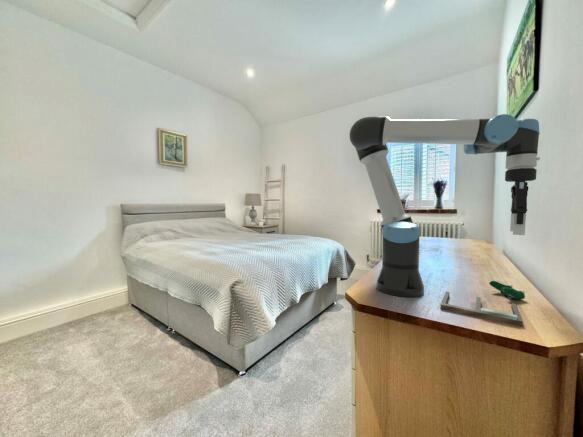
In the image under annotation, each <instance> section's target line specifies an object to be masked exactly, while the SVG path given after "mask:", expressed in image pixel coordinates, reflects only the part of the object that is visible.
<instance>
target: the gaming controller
mask: <svg viewBox="0 0 583 437" xmlns="http://www.w3.org/2000/svg"><path fill="white" fill-rule="evenodd" d="M488 284H489V286H491V287H493V288H494V289H496V290H497V291H499V292H500V293H501V296H507V298H508V299H513V298H514V299H515V300H516V299H517V300H519V301H520V300H523V299H525V298H526V294H525V291H524V290H517V289H516V288H514V287H513V285H508V284H507V285H506V284H504V283H501V282H499V281H496V280H491V281H489V283H488Z"/></svg>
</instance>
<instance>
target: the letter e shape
mask: <svg viewBox="0 0 583 437" xmlns="http://www.w3.org/2000/svg"><path fill="white" fill-rule="evenodd" d="M475 298H476V300H475V309H473V308H469V307H462V306H459V305H453V304H448V301H449V299H450V291H445V293H444V295H443V298H442V300H441V302H440V310H444V311H448V312H452V313H457V314H462V315H466V316H472V317H475V318H480V319H484V320H490V321H493V322H494V321H495V322H499V323H504V324H508V325H513V326H518V327H523V324H524V323H523V322H524V321H523V319H522V316H521V314H520V311H519V307H518V305H517V303H514V302H513V303H512V302H511V303H510V304H511V305H510V306H511V307H510V309H511V311H512V313H509V312H503V311H497V310H493V309H490V308H489V309H488V308H483V307H482V303H481V302H482V301H481V300H482V298H481V297H479V296H476V297H475Z"/></svg>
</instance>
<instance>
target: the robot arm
mask: <svg viewBox="0 0 583 437" xmlns="http://www.w3.org/2000/svg"><path fill="white" fill-rule="evenodd" d="M540 134H541V133H540V121H539V120H538V119H536V118H523V119H517V118H516V116H513V115H511V114H507V113H505V114H504V113H501V114H497V115H496V116H493V117H492V118H475V119H474V118H468V119H467V118H465V119H463V118H462V119H461V118H459V119H458V118H456V119H454V118H453V119H451V118H450V119H449V118H444V119H443V118H442V119H440V118H439V119H436V118H435V119H427V118H426V119H424V118H423V119H419V118H417V119H415V118H414V119H391V118H390V117H389V116H385V115H383V116H366V117H362V118H359V119H358V120H357V121H355V122H354V123H353V125H352V126H351V127H350V130H349V140H350V143H351V145H352V146H353V147H354V148H355V151H356V153H357V156H358V160H359V163H361V164H362V165H364V166H365V169H366V172H367V175H368V177H369V180H370V181H369V182H370V183H371V187H372V190H373V193H374V196H375V200H376V203H377V205H378V209H379V211H380V214H381V218H382V222H381V223H380V227H381V229H382V232H381V234H382V265H381V269H380V271H379V274H378V277H377V280H376V289H378V291H380V292H382V293H385V294H387V295H390V296H395V297H400V298H401V297H402V298H416V297H422V296H423V295H424V294H425V285H424V281H423V279H422V276H421V273H420V270H419V269H420V268H419V265H420V264H419V263H420V236H421V231H420V226H419V225H418V224H416V223H414V222H413V219H412V216H411V215H409V214H407V213H406V212H405V209H404V205H403V203H402V199H401V197H400V194H399V191H398V188H397V185H396V182H395V180H394V175H393V173H392V171H391V167H390V163H389V161H388V159H387V156H388V154H389V152H390V151H389V149H388V146H387V145H388V143H390V144H391V143H394V144H395V143H396V144H399V143H401V144H403V143H404V144H429V145H430V144H431V145H434V144H437V145H463V152H464V154H465V155H475V156H476V155H481V154H494V153H506V157H505V169H506V170H505V171H504V172H505V173H504V174H505V175H504V180H505V181H506V182H507V183H508V182H509V183H511V182H512V183H513V182H514V184H513V185H512V186H511V189H510V192H511V195H510V196H511V208H510V212H511V213H510V222H509V223H510V225H509V226H510V228H509V231H510V232H512V235H513V236H515V235H516V236H517V235H518V236H525V234H526V220H527V218H526V217H527V212H528V208H527V206H528V192H529V186H528V185H529V184H528V182H532V181H536V179H537V170H538V169H537V168H536V167H537V164H538V161H540V159H541V158H540V157H539V156H538V148H539V140H540Z"/></svg>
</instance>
